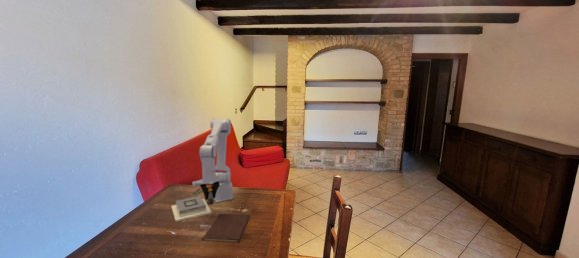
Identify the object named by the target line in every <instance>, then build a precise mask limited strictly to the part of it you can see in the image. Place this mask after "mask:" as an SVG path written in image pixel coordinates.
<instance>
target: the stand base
mask: <svg viewBox="0 0 579 258" xmlns="http://www.w3.org/2000/svg"><path fill="white" fill-rule="evenodd" d="M202 199H203V201H204V203H205V204H206V211H203V212H199V213H195V214H191V215H187V216H182V217H180V216H179V213H178V211H177V208H176V204H173V205H171V210H172V214H173V215H172V216H173V218H174V221H175V223H178V222H182V221H186V220H189V219H190V220H191V219H195V218H199V217H202V216H206V215H211V214H212V210H211V208H210V207H209V206H208V204H207V201H206V199H205V198H202Z"/></svg>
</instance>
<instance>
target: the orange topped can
mask: <svg viewBox="0 0 579 258" xmlns="http://www.w3.org/2000/svg"><path fill="white" fill-rule="evenodd" d="M206 186H207V200H206V203H207V205H210V206H211V205H213V204H214V202H215V200H214V198H213V186H212V185H206Z"/></svg>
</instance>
